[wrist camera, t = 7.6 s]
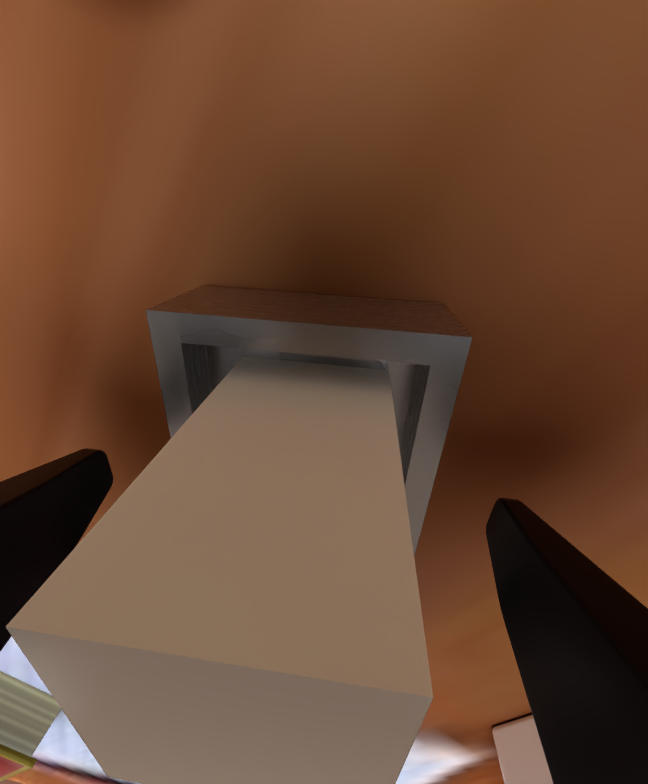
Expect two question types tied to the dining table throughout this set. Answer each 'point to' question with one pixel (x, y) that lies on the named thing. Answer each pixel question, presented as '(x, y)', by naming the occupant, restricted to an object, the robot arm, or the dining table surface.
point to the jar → (521, 752)
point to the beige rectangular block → (248, 595)
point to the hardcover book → (22, 723)
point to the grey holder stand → (320, 358)
